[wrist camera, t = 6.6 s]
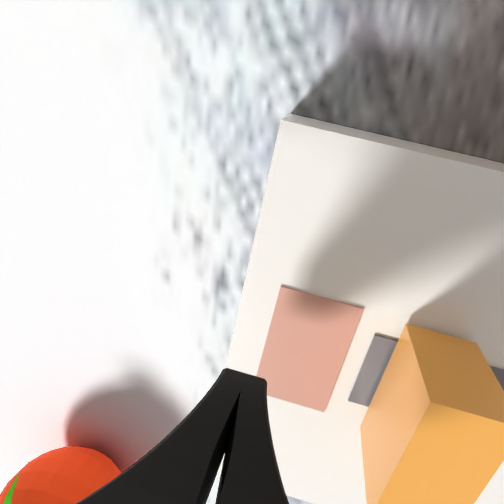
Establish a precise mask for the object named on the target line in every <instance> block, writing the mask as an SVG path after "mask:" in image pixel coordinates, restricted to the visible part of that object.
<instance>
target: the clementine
mask: <svg viewBox="0 0 504 504" xmlns="http://www.w3.org/2000/svg"><path fill="white" fill-rule="evenodd" d="M120 474H121V471H120V470H119V468H118V467H117V466H116V465H115V463H114V462H113V461H112V460H111V459H110V458H109V457H107V456H106V455H105V454H103V453H101V452H99V451H97V450H94V449H91V448H85V447H78V446H70V447H63V448H59V449H55V450H52V451H49V452H47V453H44V454H42V455H41V456H39V457H37V458H36V459H34V460H32V461H31V462H29V463H28V464H27V465H26V466H25V467H24V468H22V469H21V470H20V471H19V472H18V473H17V474H16V475H15V476H14V477H13V478H12V479H11V480H10V481H9V482H8V483H7V485H6V487H5V488H4V490H3V491H2V493H1V494H0V504H76V503H78V502H80V501H81V500H83V499H84V498H86V497H87V496H89V495H90V494H92V493H93V492H95V491H96V490H98V489H99V488H101V487H103V486H104V485H106V484H107V483H109V482H110V481H112V480H113V479H114V478H116V477H117V476H119V475H120Z"/></svg>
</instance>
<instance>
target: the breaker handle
mask: <svg viewBox="0 0 504 504" xmlns="http://www.w3.org/2000/svg"><path fill="white" fill-rule="evenodd" d="M360 433H361V445H362V456H363V467H364V479H365V490H366V502H367V504H474V503H475V501H476V500H477V499H478V497H479V496H480V494H481V493H482V491H483V490H484V488H485V487H486V485H487V484H488V483H489V481H490V480H491V478H492V477H493V475H494V474H495V472H496V471H497V470H498V468H499V467H500V465H501V464H502V462H503V461H504V390H503V389H502V387H501V385H500V383H499V382H498V380H497V378H496V376H495V375H494V373H493V371H492V369H491V368H490V366H489V364H488V362H487V361H486V359H485V357H484V355H483V354H482V352H481V350H480V348H479V347H478V345H477V343H475V342H471V341H468V340H464V339H460V338H457V337H453V336H449V335H446V334H442V333H438V332H435V331H431V330H427V329H424V328H420V327H416V326H413V325H409V324H405V326H404V328H403V331H402V333H401V335H400V337H399V340H398V342H397V344H396V347H395V349H394V351H393V353H392V356H391V358H390V360H389V362H388V365H387V367H386V369H385V371H384V374H383V376H382V378H381V380H380V383H379V385H378V387H377V389H376V392H375V394H374V396H373V398H372V401H371V403H370V405H369V407H368V410H367V412H366V414H365V416H364V419H363V421H362V423H361V425H360Z"/></svg>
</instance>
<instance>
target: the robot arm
mask: <svg viewBox="0 0 504 504" xmlns="http://www.w3.org/2000/svg"><path fill="white" fill-rule="evenodd" d="M224 454H225V455H224ZM223 456H224V460H223V466H222V471H221V476H220V482H219V487H218V493H217V498H216V504H289V503H288V500H287V496H286V493H285V490H284V487H283V483H282V480H281V476H280V472H279V468H278V464H277V460H276V456H275V451H274V446H273V441H272V435H271V429H270V423H269V416H268V406H267V381H266V380H265V379H264V378H260V377H257V376H253V375H250V374H247V373H243V372H240V371H236V370H233V369H229V368H226V369H223V370H222V372H221V374H220V376H219V377H218V379H217V380H216V382H215V383H214V385H213V386H212V387H211V389H210V390H209V391H208V392H207V394H206V395H205V396H204V397H203V399H202V400H201V401H200V402H199V403H198V404H197V405H196V407H195V408H194V409H193V410H192V411H191V412H190V413H189V414H188V415H187V417H186V418H185V419H184V420H183V421H182V422H181V423H180V424H179V425H178V426H177V427H176V428H175V429H174V430H173V431H172V432H171V433H170V434H168V435H167V436H166V437H165V438H164V439H163V440H162V441H161V442H160V443H159V444H158V445H156V446H155V447H154V448H153V449H152V450H151V451H149V452H148V453H147V454H146V455H145V456H143V457H142V458H141V459H140V460H138V461H137V462H136V463H134V464H133V465H132V466H131V467H129V468H128V469H127V470H125V471H124V472H123V473H121V474H120V475H119V476H117V477H116V478H114V479H113V480H112V481H110V482H109V483H107V484H106V485H104V486H103V487H101V488H99V489H98V490H96V491H95V492H93V493H92V494H90V495H89V496H87V497H86V498H84V499H83V500H81V501H80V502H78V503H76V504H206V501H207V499H208V496H209V493H210V491H211V488H212V485H213V483H214V480H215V477H216V475H217V472H218V470H219V467H220V464H221V462H222V459H223Z"/></svg>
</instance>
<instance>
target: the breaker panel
mask: <svg viewBox="0 0 504 504" xmlns="http://www.w3.org/2000/svg"><path fill="white" fill-rule="evenodd" d="M405 324H409V325H413V326H416V327H420V328H424V329H427V330H431V331H435V332H438V333H442V334H446V335H449V336H453V337H457V338H460V339H464V340H468V341H471V342H475V343H477V345H478V347H479V348H480V350H481V352H482V354H483V355H484V357H485V359H486V361H487V362H488V364H489V366H490V368H491V369H492V371H493V373H494V375H495V376H496V378H497V380H498V382H499V383H500V385H501V387H502V389H503V390H504V163H500V162H496V161H491V160H487V159H483V158H478V157H474V156H470V155H466V154H461V153H457V152H453V151H449V150H444V149H440V148H436V147H431V146H427V145H423V144H419V143H414V142H410V141H406V140H401V139H397V138H393V137H389V136H384V135H380V134H376V133H372V132H367V131H363V130H359V129H354V128H350V127H346V126H342V125H337V124H333V123H329V122H325V121H320V120H316V119H312V118H307V117H303V116H299V115H295V114H289V115H287V116H286V117H284V118H283V119H281V122H280V127H279V131H278V135H277V140H276V144H275V149H274V153H273V158H272V162H271V167H270V171H269V175H268V180H267V184H266V189H265V193H264V198H263V202H262V207H261V211H260V215H259V220H258V224H257V229H256V233H255V238H254V242H253V247H252V251H251V255H250V260H249V264H248V269H247V273H246V278H245V282H244V287H243V291H242V295H241V300H240V304H239V309H238V313H237V318H236V322H235V327H234V331H233V335H232V340H231V344H230V349H229V353H228V358H227V362H226V367H225V369H226V368H229V369H233V370H236V371H240V372H243V373H247V374H250V375H253V376H257V377H260V378H264V379H265V380H266V381H267V406H268V416H269V423H270V429H271V435H272V441H273V446H274V451H275V456H276V460H277V464H278V468H279V472H280V476H281V480H282V483H283V487H284V490H285V493H286V495H287V496H291V497H294V498H297V499H300V500H303V501H306V502H310V503H313V504H367V502H366V490H365V479H364V467H363V456H362V445H361V433H360V425H361V423H362V421H363V419H364V416H365V414H366V412H367V410H368V407H369V405H370V403H371V401H372V398H373V396H374V394H375V392H376V389H377V387H378V385H379V383H380V380H381V378H382V376H383V374H384V371H385V369H386V367H387V365H388V362H389V360H390V358H391V356H392V353H393V351H394V349H395V347H396V344H397V342H398V340H399V337H400V335H401V333H402V331H403V328H404V326H405ZM224 455H225V454H224ZM223 460H224V456H223V459H222V462H221V464H220V467H219V470H218V472H217V473H218V474H221V471H222V466H223ZM474 504H504V461H503V462H502V464H501V465H500V467H499V468H498V470H497V471H496V472H495V474H494V475H493V477H492V478H491V480H490V481H489V483H488V484H487V485H486V487H485V488H484V490H483V491H482V493H481V494H480V496H479V497H478V499H477V500H476V501H475V503H474Z"/></svg>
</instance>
